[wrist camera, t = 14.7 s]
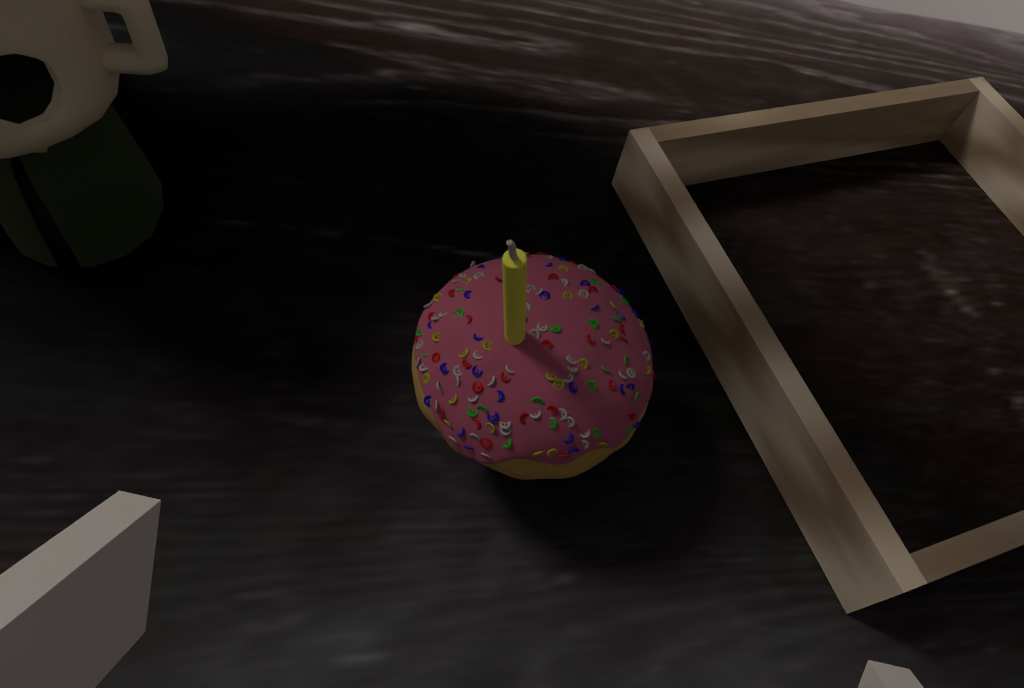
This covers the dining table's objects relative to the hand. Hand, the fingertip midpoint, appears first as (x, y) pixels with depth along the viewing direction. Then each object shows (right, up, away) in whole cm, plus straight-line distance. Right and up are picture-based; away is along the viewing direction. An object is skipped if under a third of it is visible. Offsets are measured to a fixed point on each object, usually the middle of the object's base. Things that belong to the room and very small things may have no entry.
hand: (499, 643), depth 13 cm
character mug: (-18, +11, +18) cm, 28 cm away
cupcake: (0, +2, +16) cm, 16 cm away
